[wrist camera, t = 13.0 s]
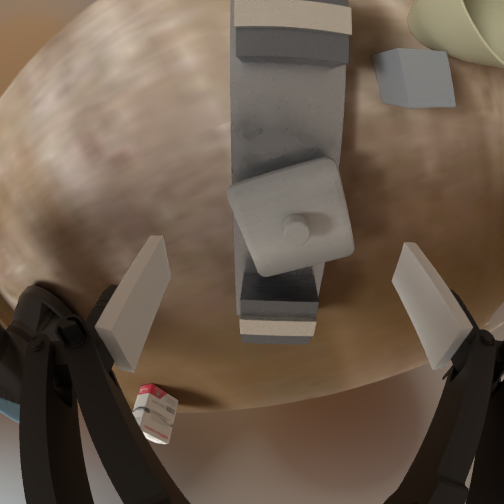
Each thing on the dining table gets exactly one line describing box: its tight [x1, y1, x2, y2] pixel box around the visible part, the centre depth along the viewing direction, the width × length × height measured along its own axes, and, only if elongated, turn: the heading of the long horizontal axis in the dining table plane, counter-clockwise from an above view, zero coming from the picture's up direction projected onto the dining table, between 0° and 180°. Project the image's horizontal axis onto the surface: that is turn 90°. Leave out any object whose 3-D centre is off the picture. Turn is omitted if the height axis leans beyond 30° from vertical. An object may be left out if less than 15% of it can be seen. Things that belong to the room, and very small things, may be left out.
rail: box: [230, 0, 352, 344], centre depth 24 cm, size 10×36×7 cm, turn 0°
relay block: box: [371, 48, 456, 108], centre depth 17 cm, size 5×5×6 cm
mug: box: [408, 0, 504, 69], centre depth 10 cm, size 11×10×12 cm
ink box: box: [132, 384, 179, 444], centre depth 49 cm, size 8×5×12 cm, turn 33°
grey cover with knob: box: [227, 156, 355, 277], centre depth 24 cm, size 10×10×5 cm
